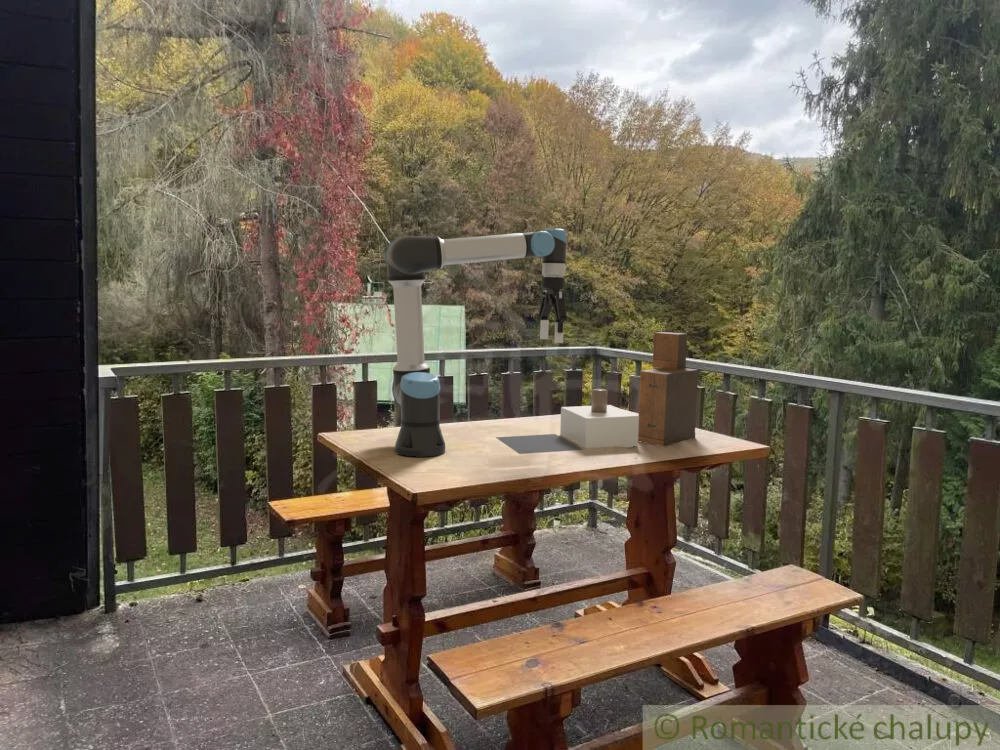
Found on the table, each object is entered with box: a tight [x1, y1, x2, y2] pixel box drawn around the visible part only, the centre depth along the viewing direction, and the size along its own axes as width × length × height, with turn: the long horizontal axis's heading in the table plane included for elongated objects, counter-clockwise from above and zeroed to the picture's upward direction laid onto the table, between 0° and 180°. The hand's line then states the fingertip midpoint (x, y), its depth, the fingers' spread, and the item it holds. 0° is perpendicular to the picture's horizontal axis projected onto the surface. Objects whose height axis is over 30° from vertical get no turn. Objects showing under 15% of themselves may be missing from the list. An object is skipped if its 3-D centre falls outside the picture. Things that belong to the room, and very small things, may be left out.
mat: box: [495, 433, 585, 455], centre depth 233 cm, size 21×23×1 cm
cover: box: [559, 388, 639, 449], centre depth 239 cm, size 18×20×17 cm
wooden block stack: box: [638, 331, 699, 447], centre depth 243 cm, size 19×14×35 cm
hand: (551, 341), depth 244 cm, fingers open, 13 cm apart
